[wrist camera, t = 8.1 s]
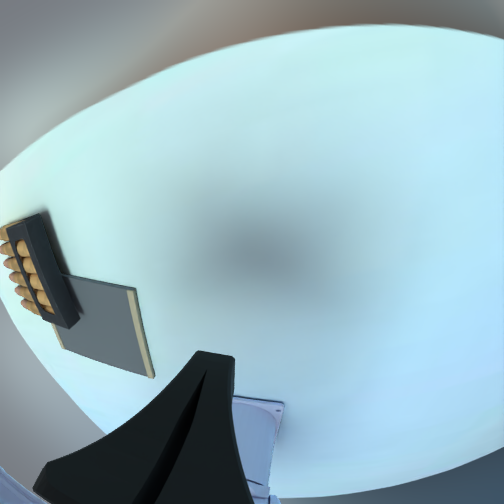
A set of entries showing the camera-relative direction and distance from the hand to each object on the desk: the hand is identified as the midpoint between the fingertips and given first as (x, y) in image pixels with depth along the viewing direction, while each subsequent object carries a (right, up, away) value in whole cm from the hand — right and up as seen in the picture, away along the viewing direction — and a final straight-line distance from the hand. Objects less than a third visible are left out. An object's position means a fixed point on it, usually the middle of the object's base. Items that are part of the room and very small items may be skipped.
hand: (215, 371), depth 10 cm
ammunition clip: (-16, +2, +11) cm, 19 cm away
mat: (-15, -3, +15) cm, 22 cm away
